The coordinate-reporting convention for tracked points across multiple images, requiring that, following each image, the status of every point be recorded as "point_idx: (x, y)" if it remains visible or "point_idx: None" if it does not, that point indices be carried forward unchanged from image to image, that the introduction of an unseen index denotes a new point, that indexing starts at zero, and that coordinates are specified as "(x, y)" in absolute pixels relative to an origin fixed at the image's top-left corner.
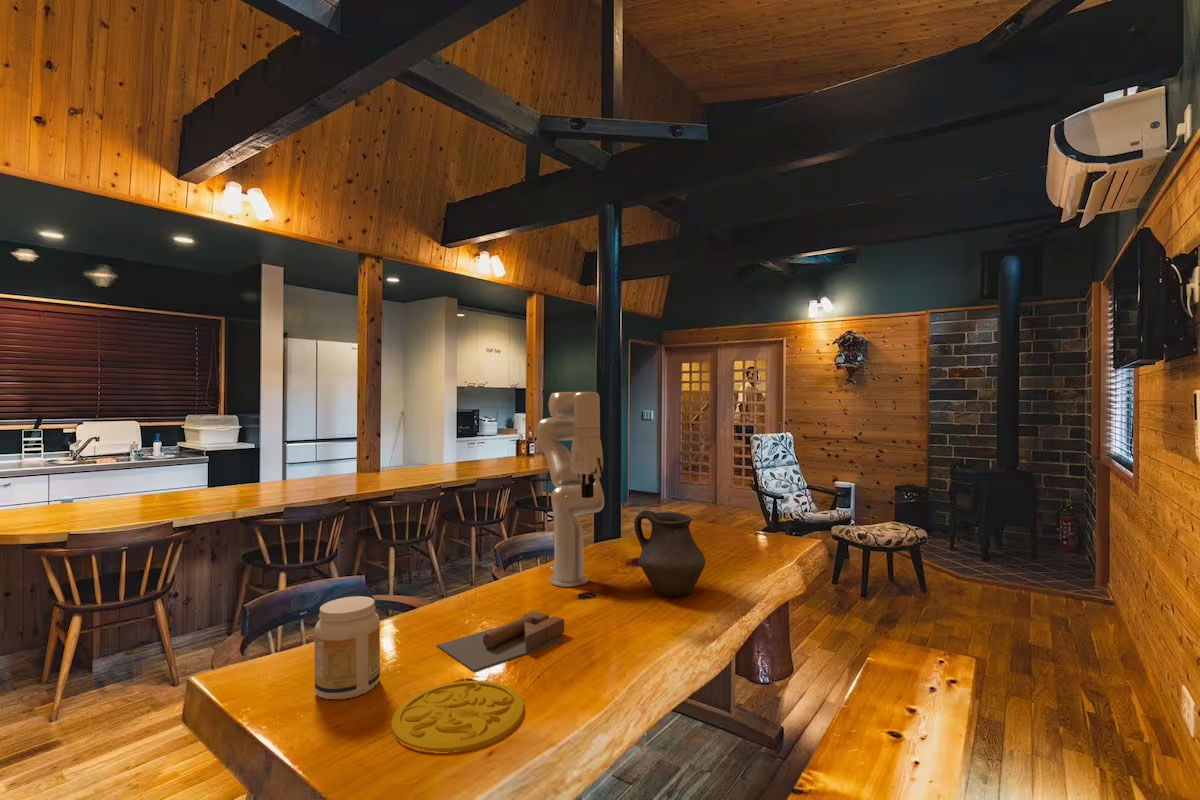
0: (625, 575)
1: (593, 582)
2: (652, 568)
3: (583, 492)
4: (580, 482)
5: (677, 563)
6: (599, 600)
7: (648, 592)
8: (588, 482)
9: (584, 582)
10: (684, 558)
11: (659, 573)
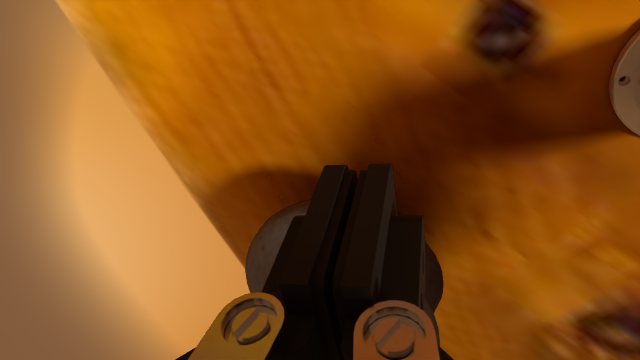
0: (565, 239)
1: (600, 132)
2: (308, 203)
3: (354, 204)
4: (420, 318)
5: (252, 248)
6: (431, 39)
7: (394, 186)
8: (218, 326)
9: (611, 97)
10: (249, 274)
11: (296, 204)
